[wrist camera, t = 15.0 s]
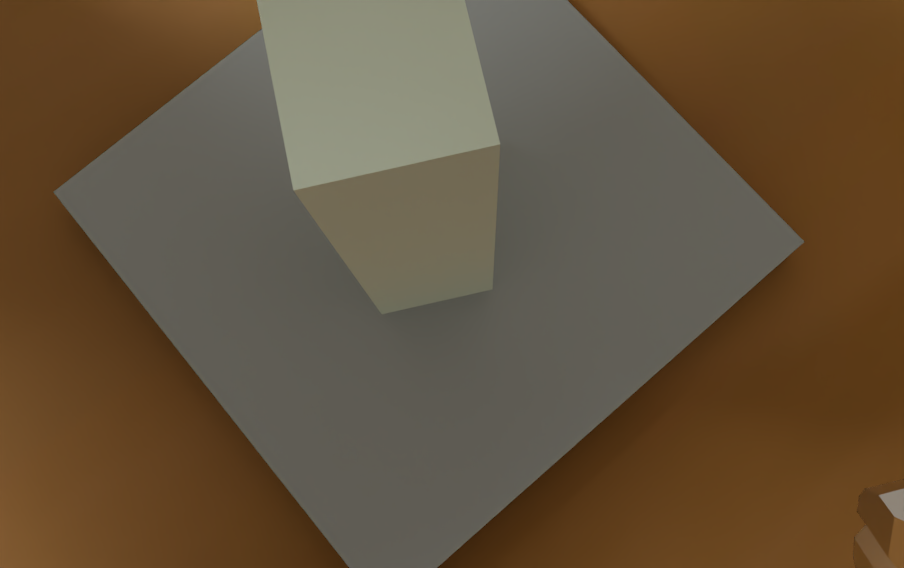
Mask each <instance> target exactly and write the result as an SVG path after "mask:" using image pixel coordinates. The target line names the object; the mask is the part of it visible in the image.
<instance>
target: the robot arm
mask: <svg viewBox="0 0 904 568" xmlns="http://www.w3.org/2000/svg"><path fill="white" fill-rule="evenodd" d="M857 512H858V514H859V515H860V517H861V518H862V520H863V521H864V523H865V524H866V525H865V526H864V527H863V528H862V529H861V531H860V532H859V533H858V534H857V535H856V536H855V537H854V548H853V560H854V564H855V568H904V479H902V480H898V481H894V482H890V483H886V484H882V485H878V486H873V487H869V488H865V489H864V490H863V492H862V493H861V494H860V495H859V499H858V507H857Z"/></svg>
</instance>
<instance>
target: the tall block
mask: <svg viewBox="0 0 904 568" xmlns="http://www.w3.org/2000/svg"><path fill="white" fill-rule="evenodd" d="M257 5H258V10H259V15H260V20H261V25H262V30H263V36H264V41H265V46H266V51H267V56H268V62H269V67H270V72H271V77H272V82H273V88H274V93H275V98H276V103H277V108H278V113H279V119H280V124H281V129H282V134H283V139H284V145H285V150H286V155H287V160H288V165H289V170H290V176H291V181H292V186H293V191H294V192H295V193H296V195H297V196H298V198H299V199H300V201H301V202H302V203H303V205H304V206H305V208H306V209H307V210H308V212H309V213H310V215H311V216H312V217H313V219H314V220H315V222H316V223H317V224H318V226H319V227H320V229H321V230H322V231H323V233H324V234H325V236H326V237H327V238H328V240H329V241H330V243H331V244H332V245H333V247H334V248H335V250H336V251H337V252H338V254H339V255H340V257H341V258H342V259H343V261H344V262H345V264H346V265H347V266H348V268H349V269H350V271H351V272H352V273H353V275H354V276H355V278H356V279H357V280H358V282H359V283H360V285H361V286H362V287H363V289H364V290H365V292H366V293H367V294H368V296H369V297H370V299H371V300H372V301H373V303H374V304H375V306H376V307H377V308H378V310H379V311H380V313H381V314H386V313H390V312H395V311H399V310H403V309H408V308H412V307H417V306H421V305H426V304H430V303H435V302H439V301H443V300H448V299H452V298H457V297H461V296H466V295H470V294H475V293H479V292H483V291H488V290H492V289H493V271H494V253H495V234H496V215H497V196H498V177H499V158H500V141H499V137H498V133H497V129H496V125H495V121H494V117H493V113H492V109H491V105H490V101H489V97H488V93H487V89H486V84H485V80H484V76H483V72H482V68H481V64H480V60H479V56H478V52H477V48H476V44H475V40H474V36H473V32H472V28H471V24H470V20H469V16H468V12H467V8H466V3H465V0H257Z"/></svg>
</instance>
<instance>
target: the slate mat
mask: <svg viewBox="0 0 904 568" xmlns="http://www.w3.org/2000/svg"><path fill="white" fill-rule="evenodd" d="M465 3H466V8H467V12H468V16H469V20H470V24H471V28H472V32H473V36H474V40H475V44H476V48H477V52H478V56H479V60H480V64H481V68H482V72H483V76H484V80H485V84H486V89H487V93H488V97H489V101H490V105H491V109H492V113H493V117H494V121H495V125H496V129H497V133H498V137H499V141H500V158H499V177H498V196H497V215H496V234H495V253H494V271H493V289H492V290H488V291H483V292H479V293H475V294H470V295H466V296H461V297H457V298H452V299H448V300H443V301H439V302H435V303H430V304H426V305H421V306H417V307H412V308H408V309H403V310H399V311H395V312H390V313H386V314H381V313H380V311H379V310H378V308H377V307H376V306H375V304H374V303H373V301H372V300H371V299H370V297H369V296H368V294H367V293H366V292H365V290H364V289H363V287H362V286H361V285H360V283H359V282H358V280H357V279H356V278H355V276H354V275H353V273H352V272H351V271H350V269H349V268H348V266H347V265H346V264H345V262H344V261H343V259H342V258H341V257H340V255H339V254H338V252H337V251H336V250H335V248H334V247H333V245H332V244H331V243H330V241H329V240H328V238H327V237H326V236H325V234H324V233H323V231H322V230H321V229H320V227H319V226H318V224H317V223H316V222H315V220H314V219H313V217H312V216H311V215H310V213H309V212H308V210H307V209H306V208H305V206H304V205H303V203H302V202H301V201H300V199H299V198H298V196H297V195H296V193H295V192H294V191H293V186H292V181H291V176H290V170H289V165H288V160H287V155H286V150H285V145H284V139H283V134H282V129H281V124H280V119H279V113H278V108H277V103H276V98H275V93H274V88H273V82H272V77H271V72H270V67H269V62H268V56H267V51H266V46H265V41H264V36H263V30H262V29H261V30H260V31H258V32H257V33H256V34H254V35H253V36H252V37H251V38H249V39H248V40H247V41H245V42H244V43H243V44H242V45H240V46H239V47H238V48H237V49H235V50H234V51H233V52H231V53H230V54H229V55H228V56H226V57H225V58H224V59H222V60H221V61H220V62H219V63H217V64H216V65H215V66H214V67H212V68H211V69H210V70H208V71H207V72H206V73H205V74H203V75H202V76H201V77H200V78H198V79H197V80H196V81H194V82H193V83H192V84H191V85H189V86H188V87H187V88H185V89H184V90H183V91H182V92H180V93H179V94H178V95H177V96H175V97H174V98H173V99H171V100H170V101H169V102H168V103H166V104H165V105H164V106H162V107H161V108H160V109H159V110H157V111H156V112H155V113H154V114H152V115H151V116H150V117H148V118H147V119H146V120H145V121H143V122H142V123H141V124H139V125H138V126H137V127H136V128H134V129H133V130H132V131H131V132H129V133H128V134H127V135H125V136H124V137H123V138H122V139H120V140H119V141H118V142H116V143H115V144H114V145H113V146H111V147H110V148H109V149H108V150H106V151H105V152H104V153H102V154H101V155H100V156H99V157H97V158H96V159H95V160H93V161H92V162H91V163H90V164H88V165H87V166H86V167H85V168H83V169H82V170H81V171H79V172H78V173H77V174H76V175H74V176H73V177H72V178H70V179H69V180H68V181H67V182H65V183H64V184H63V185H62V186H60V187H59V188H58V189H56V190H55V191H54V194H55V195H56V196H57V198H58V199H59V200H60V201H61V203H62V204H63V205H64V206H65V208H66V209H67V210H68V211H69V213H70V214H71V215H72V217H73V218H74V219H75V220H76V222H77V223H78V224H79V225H80V227H81V228H82V229H83V230H84V232H85V233H86V234H87V236H88V237H89V238H90V239H91V241H92V242H93V243H94V244H95V246H96V247H97V248H98V250H99V251H100V252H101V253H102V255H103V256H104V257H105V258H106V260H107V261H108V262H109V263H110V265H111V266H112V267H113V269H114V270H115V271H116V272H117V274H118V275H119V276H120V277H121V279H122V280H123V281H124V283H125V284H126V285H127V286H128V288H129V289H130V290H131V291H132V293H133V294H134V295H135V296H136V298H137V299H138V300H139V302H140V303H141V304H142V305H143V307H144V308H145V309H146V310H147V312H148V313H149V314H150V315H151V317H152V318H153V319H154V321H155V322H156V323H157V324H158V326H159V327H160V328H161V329H162V331H163V332H164V333H165V335H166V336H167V337H168V338H169V340H170V341H171V342H172V343H173V345H174V346H175V347H176V348H177V350H178V351H179V352H180V354H181V355H182V356H183V357H184V359H185V360H186V361H187V362H188V364H189V365H190V366H191V368H192V369H193V370H194V371H195V373H196V374H197V375H198V376H199V378H200V379H201V380H202V381H203V383H204V384H205V385H206V387H207V388H208V389H209V390H210V392H211V393H212V394H213V395H214V397H215V398H216V399H217V400H218V402H219V403H220V404H221V406H222V407H223V408H224V409H225V411H226V412H227V413H228V414H229V416H230V417H231V418H232V420H233V421H234V422H235V423H236V425H237V426H238V427H239V428H240V430H241V431H242V432H243V433H244V435H245V436H246V437H247V439H248V440H249V441H250V442H251V444H252V445H253V446H254V447H255V449H256V450H257V451H258V453H259V454H260V455H261V456H262V458H263V459H264V460H265V461H266V463H267V464H268V465H269V466H270V468H271V469H272V470H273V472H274V473H275V474H276V475H277V477H278V478H279V479H280V480H281V482H282V483H283V484H284V485H285V487H286V488H287V489H288V491H289V492H290V493H291V494H292V496H293V497H294V498H295V499H296V501H297V502H298V503H299V505H300V506H301V507H302V508H303V510H304V511H305V512H306V513H307V515H308V516H309V517H310V518H311V520H312V521H313V522H314V524H315V525H316V526H317V527H318V529H319V530H320V531H321V532H322V534H323V535H324V536H325V538H326V539H327V540H328V541H329V543H330V544H331V545H332V546H333V548H334V549H335V550H336V551H337V553H338V554H339V555H340V557H341V558H342V559H343V560H344V562H345V563H346V564H347V565H348V567H349V568H437V567H438V566H440V565H441V564H442V563H443V562H444V561H445V560H446V559H447V558H449V557H450V556H451V555H452V554H453V553H454V552H455V551H456V550H458V549H459V548H460V547H461V546H462V545H463V544H464V543H465V542H467V541H468V540H469V539H470V538H471V537H472V536H473V535H474V534H476V533H477V532H478V531H479V530H480V529H481V528H482V527H483V526H485V525H486V524H487V523H488V522H489V521H490V520H491V519H492V518H494V517H495V516H496V515H497V514H498V513H499V512H500V511H502V510H503V509H504V508H505V507H506V506H507V505H508V504H509V503H511V502H512V501H513V500H514V499H515V498H516V497H517V496H518V495H520V494H521V493H522V492H523V491H524V490H525V489H526V488H527V487H529V486H530V485H531V484H532V483H533V482H534V481H535V480H536V479H538V478H539V477H540V476H541V475H542V474H543V473H544V472H545V471H547V470H548V469H549V468H550V467H551V466H552V465H553V464H555V463H556V462H557V461H558V460H559V459H560V458H561V457H562V456H564V455H565V454H566V453H567V452H568V451H569V450H570V449H571V448H573V447H574V446H575V445H576V444H577V443H578V442H579V441H580V440H582V439H583V438H584V437H585V436H586V435H587V434H588V433H589V432H591V431H592V430H593V429H594V428H595V427H596V426H597V425H598V424H600V423H601V422H602V421H603V420H604V419H605V418H606V417H607V416H609V415H610V414H611V413H612V412H613V411H614V410H615V409H617V408H618V407H619V406H620V405H621V404H622V403H623V402H624V401H626V400H627V399H628V398H629V397H630V396H631V395H632V394H633V393H635V392H636V391H637V390H638V389H639V388H640V387H641V386H642V385H644V384H645V383H646V382H647V381H648V380H649V379H650V378H651V377H653V376H654V375H655V374H656V373H657V372H658V371H659V370H660V369H662V368H663V367H664V366H665V365H666V364H667V363H668V362H670V361H671V360H672V359H673V358H674V357H675V356H676V355H677V354H679V353H680V352H681V351H682V350H683V349H684V348H685V347H686V346H688V345H689V344H690V343H691V342H692V341H693V340H694V339H695V338H697V337H698V336H699V335H700V334H701V333H702V332H703V331H704V330H706V329H707V328H708V327H709V326H710V325H711V324H712V323H713V322H715V321H716V320H717V319H718V318H719V317H720V316H721V315H722V314H724V313H725V312H726V311H727V310H728V309H729V308H730V307H732V306H733V305H734V304H735V303H736V302H737V301H738V300H739V299H741V298H742V297H743V296H744V295H745V294H746V293H747V292H748V291H750V290H751V289H752V288H753V287H754V286H755V285H756V284H757V283H759V282H760V281H761V280H762V279H763V278H764V277H765V276H766V275H768V274H769V273H770V272H771V271H772V270H773V269H774V268H775V267H777V266H778V265H779V264H780V263H781V262H782V261H783V260H785V259H786V258H787V257H788V256H789V255H790V254H791V253H792V252H794V251H795V250H796V249H797V248H798V247H799V246H800V245H801V244H803V243H804V241H803V240H802V239H801V238H800V237H799V236H798V235H797V234H796V233H795V232H794V230H793V229H792V228H791V227H790V226H789V225H788V224H787V223H786V222H785V221H784V220H783V219H782V218H781V217H780V216H779V215H778V214H777V213H776V212H775V211H774V210H773V209H772V208H771V207H770V206H769V205H768V204H767V203H766V202H765V201H764V200H763V199H762V198H761V197H760V196H759V195H758V194H757V193H756V192H755V191H754V190H753V189H752V188H751V187H750V186H749V185H748V184H747V183H746V182H745V181H744V180H743V179H742V178H741V177H740V176H739V175H738V173H737V172H736V171H735V170H734V169H733V168H732V167H731V166H730V165H729V164H728V163H727V162H726V161H725V160H724V159H723V158H722V157H721V156H720V155H719V154H718V153H717V152H716V151H715V150H714V149H713V148H712V147H711V146H710V145H709V144H708V143H707V142H706V141H705V140H704V139H703V138H702V137H701V136H700V135H699V134H698V133H697V132H696V131H695V130H694V129H693V128H692V127H691V126H690V125H689V124H688V123H687V122H686V121H685V120H684V119H683V118H682V117H681V115H680V114H679V113H678V112H677V111H676V110H675V109H674V108H673V107H672V106H671V105H670V104H669V103H668V102H667V101H666V100H665V99H664V98H663V97H662V96H661V95H660V94H659V93H658V92H657V91H656V90H655V89H654V88H653V87H652V86H651V85H650V84H649V83H648V82H647V81H646V80H645V79H644V78H643V77H642V76H641V75H640V74H639V73H638V72H637V71H636V70H635V69H634V68H633V67H632V66H631V65H630V64H629V63H628V62H627V61H626V60H625V58H624V57H623V56H622V55H621V54H620V53H619V52H618V51H617V50H616V49H615V48H614V47H613V46H612V45H611V44H610V43H609V42H608V41H607V40H606V39H605V38H604V37H603V36H602V35H601V34H600V33H599V32H598V31H597V30H596V29H595V28H594V27H593V26H592V25H591V24H590V23H589V22H588V21H587V20H586V19H585V18H584V17H583V16H582V15H581V14H580V13H579V12H578V11H577V10H576V9H575V8H574V7H573V6H572V5H571V4H570V3H569V2H568V0H465Z"/></svg>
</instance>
